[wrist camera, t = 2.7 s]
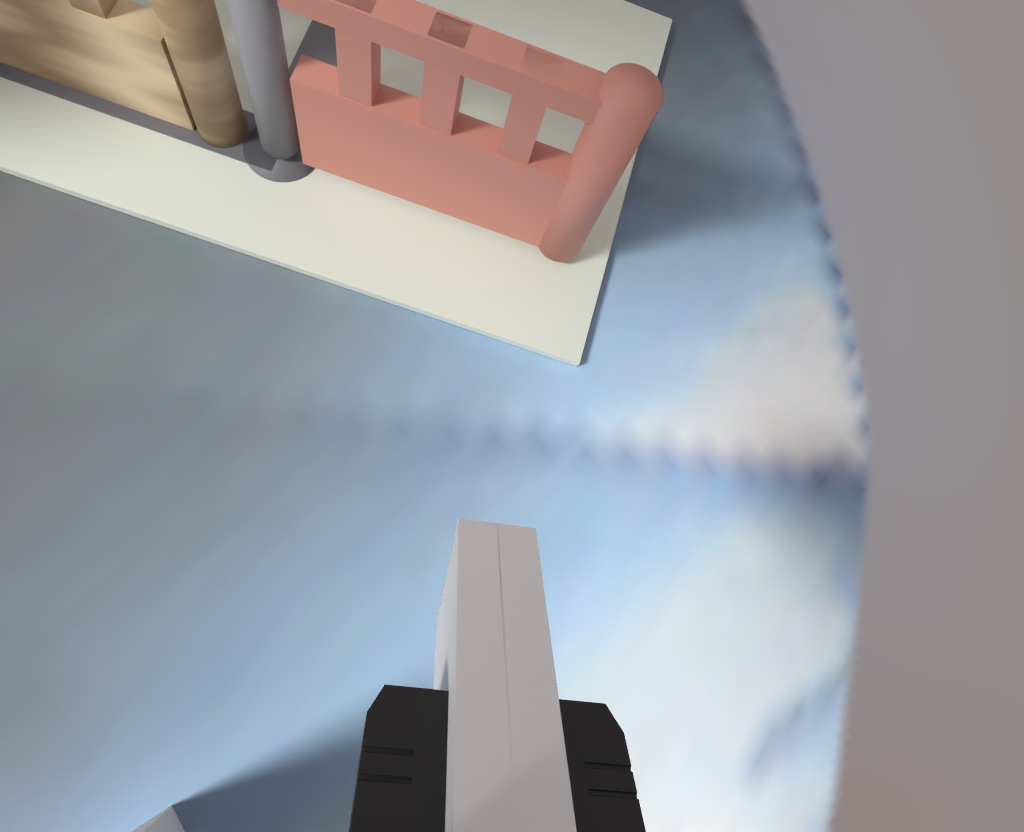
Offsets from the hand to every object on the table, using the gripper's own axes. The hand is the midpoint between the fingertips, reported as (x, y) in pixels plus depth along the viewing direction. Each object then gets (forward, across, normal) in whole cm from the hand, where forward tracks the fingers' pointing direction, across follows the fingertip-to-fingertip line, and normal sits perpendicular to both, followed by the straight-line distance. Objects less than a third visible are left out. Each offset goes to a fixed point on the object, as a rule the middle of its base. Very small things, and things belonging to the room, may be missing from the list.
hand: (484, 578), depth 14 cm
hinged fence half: (+21, -3, +3) cm, 21 cm away
